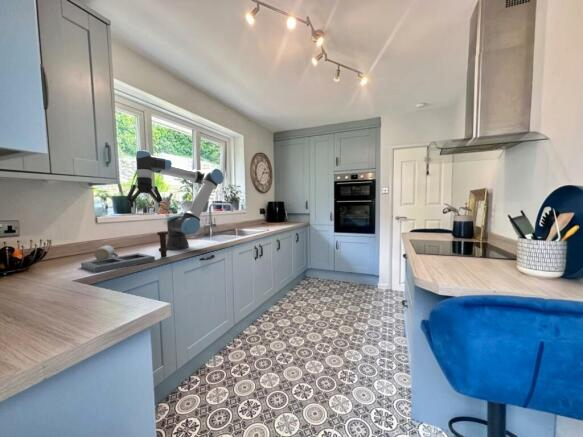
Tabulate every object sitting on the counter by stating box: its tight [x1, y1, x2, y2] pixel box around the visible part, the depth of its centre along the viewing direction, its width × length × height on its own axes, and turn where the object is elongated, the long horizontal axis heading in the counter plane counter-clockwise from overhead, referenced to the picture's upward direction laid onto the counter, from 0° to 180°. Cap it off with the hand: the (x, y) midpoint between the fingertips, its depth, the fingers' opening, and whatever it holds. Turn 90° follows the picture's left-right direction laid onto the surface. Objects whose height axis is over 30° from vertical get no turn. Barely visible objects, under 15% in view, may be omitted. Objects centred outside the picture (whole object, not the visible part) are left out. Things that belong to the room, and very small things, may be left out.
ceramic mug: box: [94, 244, 119, 260], centre depth 143 cm, size 11×8×8 cm
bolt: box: [156, 231, 169, 258], centre depth 145 cm, size 6×5×15 cm
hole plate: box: [80, 252, 156, 274], centre depth 129 cm, size 27×19×2 cm
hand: (145, 213), depth 145 cm, fingers open, 13 cm apart
